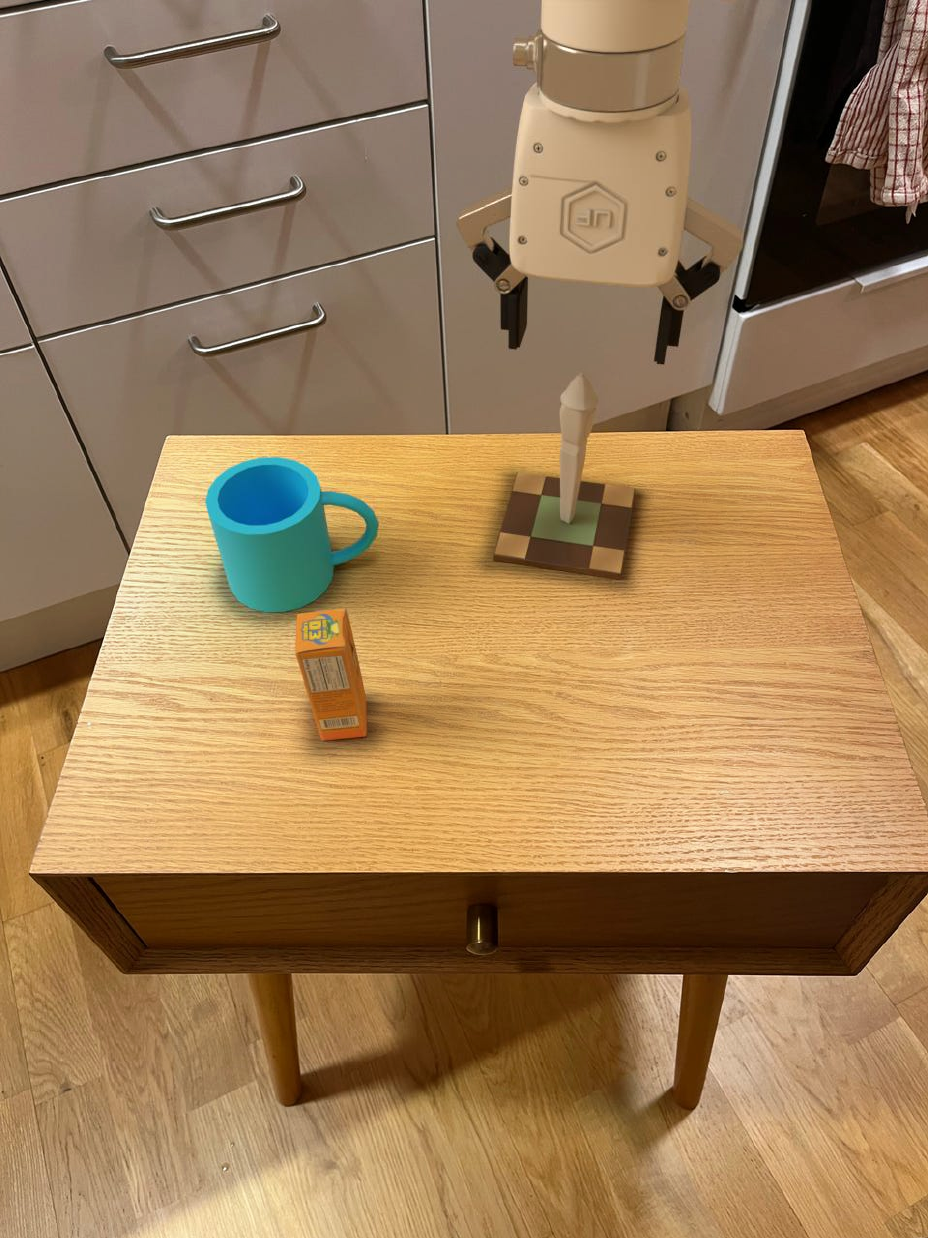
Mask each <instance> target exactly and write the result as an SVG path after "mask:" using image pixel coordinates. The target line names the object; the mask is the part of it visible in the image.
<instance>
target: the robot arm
mask: <svg viewBox="0 0 928 1238" xmlns="http://www.w3.org/2000/svg"><path fill="white" fill-rule="evenodd" d="M721 1H723V2H744V1H746V0H721ZM690 5H691V0H541V9H540V10H541V14H540V29H537V31H536V33H535V35H529V36H528V38H527V37H526V38H525V37H515V39H514V42H513V48H512V50H513V51H512V63H513V66H514V67H526V69H527V70H529V71H530V70H531V71H533V76H534V77H536V82H535V83H534V84H533V85H531V87H530V88H529V90H528V91H527V92H526V94H525V95H524V99H523V103H522V107H521V112H520V117H519V124H518V129H517V137H516V143H515V151H514V152H515V153H514V163H513V173H512V174H513V175H512V185H511V187H509V188H507V189H504V190H502V191H500V192H498V193H495V194H494V195H491V196H489V197H486V198H485V199H482V200H480V201H478V202H476V203H474V204H471V205H469V206H467V207H465V208H463V209H462V210H461V211H460V213H459V216H458V217H457V220H456V227H457V230H458V231H459V233H460V235H461V237H462V239H463V241H464V242H465V244H466V246H467V248H468V249H469V250H470V252H471V254H472V260H473V262H474V263H475V264H476V265H477V266H478V267H479V268H480V269H481V270H482V272H484V273H485V275H487V277H489V279H491V280H492V281H493V286H494V289H495V291H496V292H497V293H498V294H499V295H500V299H499V300H500V305H499V307H500V308H499V310H500V311H499V312H500V313H499V314H500V316H499V317H500V320H499V321H500V325H499V326H500V330H502V331H508V339H507V340H508V346H507V347H508V349H509V350H517V349H520V348H521V345H522V342H523V339H524V336H525V333H526V331H527V330H526V329H527V326H528V304H529V303H528V302H529V301H528V297H529V296H528V295H529V277H532V278H536V279H537V278H538V279H545V280H552V281H553V280H554V281H563V282H564V281H565V282H573V283H584V284H595V285H607V286H618V287H619V286H620V287H630V288H631V287H634V288H653V287H657V288H658V289H659V291H660V292H661V294H662V295H663V296H662V302H661V306H660V307H661V308H660V314H659V320H658V329H657V334H656V335H657V336H656V341H655V342H656V343H655V349H654V357H653V362H655V363H656V365H665V362H666V357H667V349H668V347H672V348H673V347H675V348H679V343H680V337H681V331H682V326H683V325H682V324H683V318H684V313H685V312H684V311H685V310H686V309H687V308H688V307H690V304H691V302H692V301H694V300H695V299H696V298H697V297H698V296H700V295H702V294H703V293H704V292H706V291H707V290H709V289H710V288H712V287H713V286H715V285H717V283H719V280H720V278H721V276H722V274H723V273H724V272H725V271H726V270H728V268H729V267H730V266H731V264H732V263H733V262H734V260H735V259H736V258H737V257H738V255H739V254H740V253H741V252H742V250H743V248H744V236H745V234H744V232H743V230H742V229H740V228H739V227H737V226H735V225H734V224H732V223H731V222H729V221H727V220H726V219H724V218H723V217H721V216H719V215H717V213H715V212H713V211H711V210H710V209H708V208H706V207H705V206H703V205H702V204H701V203H698V201H695V200H694V199H692V198H690V197H689V196H688V194H689V182H690V172H691V158H692V157H691V155H692V118H691V117H692V115H691V104H690V103H691V102H690V94H689V92H688V90H687V89H686V88H685V87H684V86H683V85H681V84H680V82H681V81H680V80H681V73H682V72H681V71H682V66H683V65H682V64H683V58H684V50H685V42H686V34H687V27H688V19H689V13H690ZM509 218H510V219H509ZM507 219H509V220H510V221H509V237H508V238H509V239H508V240H509V242H508V243H509V244H508V245H509V247H508V248H509V252H507V251H506V250H505V249H504V248H503V247H502V246H501V244H499V242H497V240H496V239H494V237H492V236H491V234H490V231H489V229H488V228H489V227H491V226H493V225H496V224H498V223H500V222H502V221H505V220H507ZM684 231H686V232H687V233H689V234H690V235H692V236H694V237H695V238H697V239H699V240H700V241H702V242H703V243H705V244H707V245H709V246H710V247H711V248H710V251H709V252H708V253H707V254H706V255H704V256H703V257H702V258H700V260H698V261H696V262H695V263H694V264H692V265H691V266H690V267H688V266H687V265H686V263H685V261H684V260H683V259H682V258H681V256H680V254H681V250H682V244H683V236H684Z"/></svg>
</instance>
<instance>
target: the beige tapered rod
mask: <svg viewBox="0 0 928 1238" xmlns="http://www.w3.org/2000/svg"><path fill="white" fill-rule="evenodd" d="M559 399H560V402H561V406H560V407H559V426H560V436H561V439H560V448H559V478H560V518H561V520H563V521H565V522H567V523H568V524H570V523H571V521H572V520H573V518H574V514H575V510H576V505H577V498H578V493H579V487H580V482H581V481H582V475H583V471H584V467H585V462H586V453H587V445H588V439H589V437H590V435H591V433H592V429H593V426H594V422H595V418H596V415H597V408H596V407H597V405H598V404H599V396H598V394H597V393H596V392H595V389H594V388H593V385H592V384H591V382H590V381H589V379H588V378H587V377H586V375H585V374H584V373H583V372H580V373H579V374H577V375H576V377H574V378H573V379H572V381H570V383H569V384H568V385H567V387H566V389H565V390H563V392H562V393H561V395H560V398H559Z"/></svg>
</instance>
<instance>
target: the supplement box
mask: <svg viewBox="0 0 928 1238" xmlns="http://www.w3.org/2000/svg"><path fill="white" fill-rule="evenodd" d="M350 622H351V621H350V618H349V613H348V610H347V609H346V607H339V608H334V609H327V610H318V611H317V610H316V611H309V612H303V613H297V614H296V624H295V625H296V626H295V649H294V654H295V657H296V661H297V664H298V668H299V671H300V673H301V677H302V681H303V684H304V687H305V690H306V693H307V697H308V700H309V704H310V707H311V710H312V714H313V717H314V721H315V724H316V727H317V731H318V734H319V737H320V740H321V741H322V742H323V741H324V742H325V741H335V740H343V739H345V740H346V739H353V738H354V739H355V738H362V737H363V738H364V737H366V736H367V734H368V716H367V715H368V714H367V713H368V711H367V697H366V691H365V686H364V685H365V684H364V680H363V677H362V671H361V666H360V661H359V657H358V652H357V648H356V643H355V640H354V634H353V630H352V626H351V623H350Z"/></svg>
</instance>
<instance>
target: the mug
mask: <svg viewBox="0 0 928 1238" xmlns="http://www.w3.org/2000/svg"><path fill="white" fill-rule="evenodd" d="M204 503H205V506H206V507H205V508H206V511H207V514H208V518H209V522H210V524H211V528H212V532H213V535H214V538H215V542H216V545H217V548H218V549H217V550H218V552H219V556H220V559H221V562H222V566H223V569H224V573H225V576H226V579H227V582H228V585H229V590H230V592H231V593H232V594H233V596H234V597H235V598H236V600H237V601H238V602H240V603H241V604H243V605H244V606H246V607H248V608H249V609H252V610H256V611H259V612H264V613H285V612H286V613H287V612H289V611H294V610H298V609H301V608H303V607H305V606H307V605H309V604H311V603H313V602H315V601H316V600H317V599H319V598H320V596H321V595H323V594H324V593H325V592H326V591H327V590H328V588H329V586H330V584H331V582H332V581H333V579H334V571H335V566H337V565H340V564H344V563H346V562H348V561H352V560H353V559H355V558H357V557H359V556H361V554H363V553H364V552H365V551H367V550H369V549H370V547H371V546H372V544H373V543H374V541H375V540H376V539H377V537H378V532H379V525H380V523H379V520H378V517H377V515H376V513H375V510H374V509H373V508H372V507H370V505H368V503H366V502H365V501H364V500H362V499H361V498H357V497H356V496H353V495H351V494H348V493H342V492H337V491H331V490H324V491H323V490H322V487H321V485H320V482H319V478H318V476H317V474H315V473H314V472H313V470H311V468H309V466H307V465H305V464H303V463H301V462H299V461H297V460H294V459H291V458H285V457H281V456H271V457H270V456H268V457H267V456H265V457H258V458H252V459H248V460H243V461H242V462H240V463H237V464H235V465H233V466H231V467H229V468H227V469H226V470H224V471H223V472H222V473H220V474H219V475H218V476H216V478H215V479H214V481H213V482H212V483H211V485H210V486H209V487H208V488H207V492H206V496H205V500H204ZM325 506H335V507H340V508H344V509H348V510H350V511H352V512H355V513H357V514H358V516H360V517H361V518H362V519H363V520H364V522H365V531H364V532H363V533H362V535H361V536H360V538H359V539H357V540H356V541H355V542H352V544H350V545H348V546H346V547H344V548H342V549H339V550H335V551H332V547H331V540H330V534H329V527H328V522H327V516H326V510H325Z"/></svg>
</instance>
